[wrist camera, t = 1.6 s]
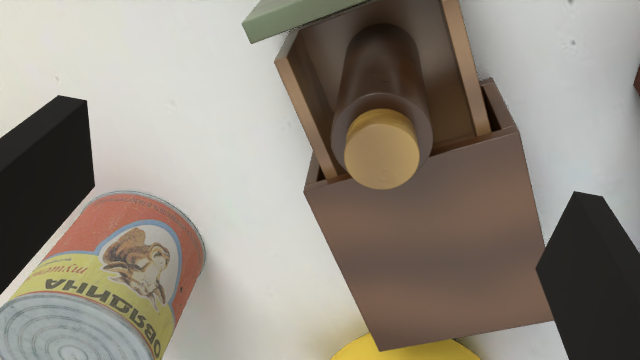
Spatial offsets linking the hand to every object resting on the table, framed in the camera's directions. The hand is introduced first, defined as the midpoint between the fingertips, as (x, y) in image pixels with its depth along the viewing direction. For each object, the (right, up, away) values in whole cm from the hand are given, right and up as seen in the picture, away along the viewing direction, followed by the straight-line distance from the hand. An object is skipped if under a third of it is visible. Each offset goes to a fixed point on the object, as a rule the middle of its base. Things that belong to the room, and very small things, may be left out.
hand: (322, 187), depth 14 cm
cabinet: (+8, -1, +25) cm, 27 cm away
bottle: (+4, +8, +18) cm, 20 cm away
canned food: (-16, -5, +32) cm, 36 cm away
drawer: (+4, +8, +19) cm, 21 cm away
